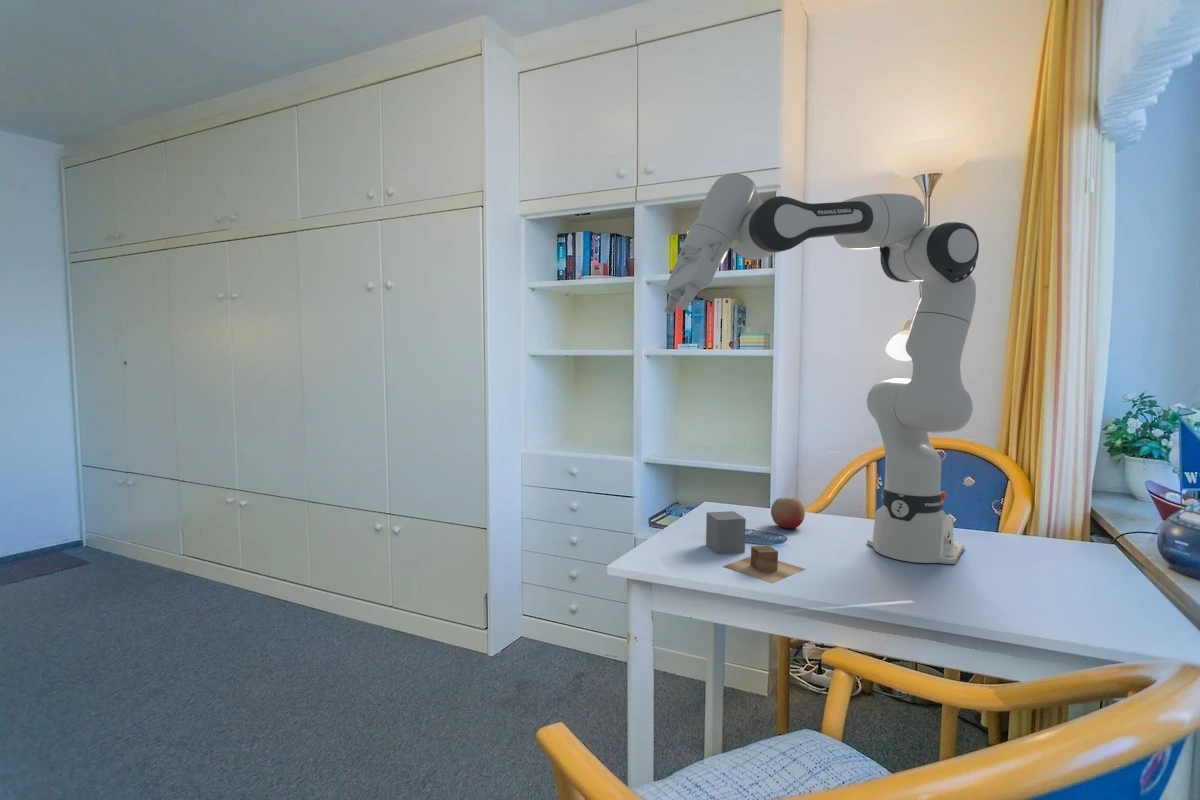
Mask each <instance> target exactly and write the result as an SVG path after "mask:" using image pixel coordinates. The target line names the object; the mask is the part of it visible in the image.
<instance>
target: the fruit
mask: <svg viewBox="0 0 1200 800" xmlns="http://www.w3.org/2000/svg"><path fill="white" fill-rule="evenodd" d="M770 509H771V510H770V515H771V518H772V520H773V522H774V524H775V525H776V526H780V527H782V528H783V529H787V530H792V529H793V530H794V529H796V528H798V527H799V526H801V524H803V521H804V520H805V515H806V511H805V507H804V505H803V503H802V501H801V500H800V499H798V498H797V497H784V498H783V497H780V498H777V499H775V500H774V501H773V503H772V505H771V508H770Z"/></svg>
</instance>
